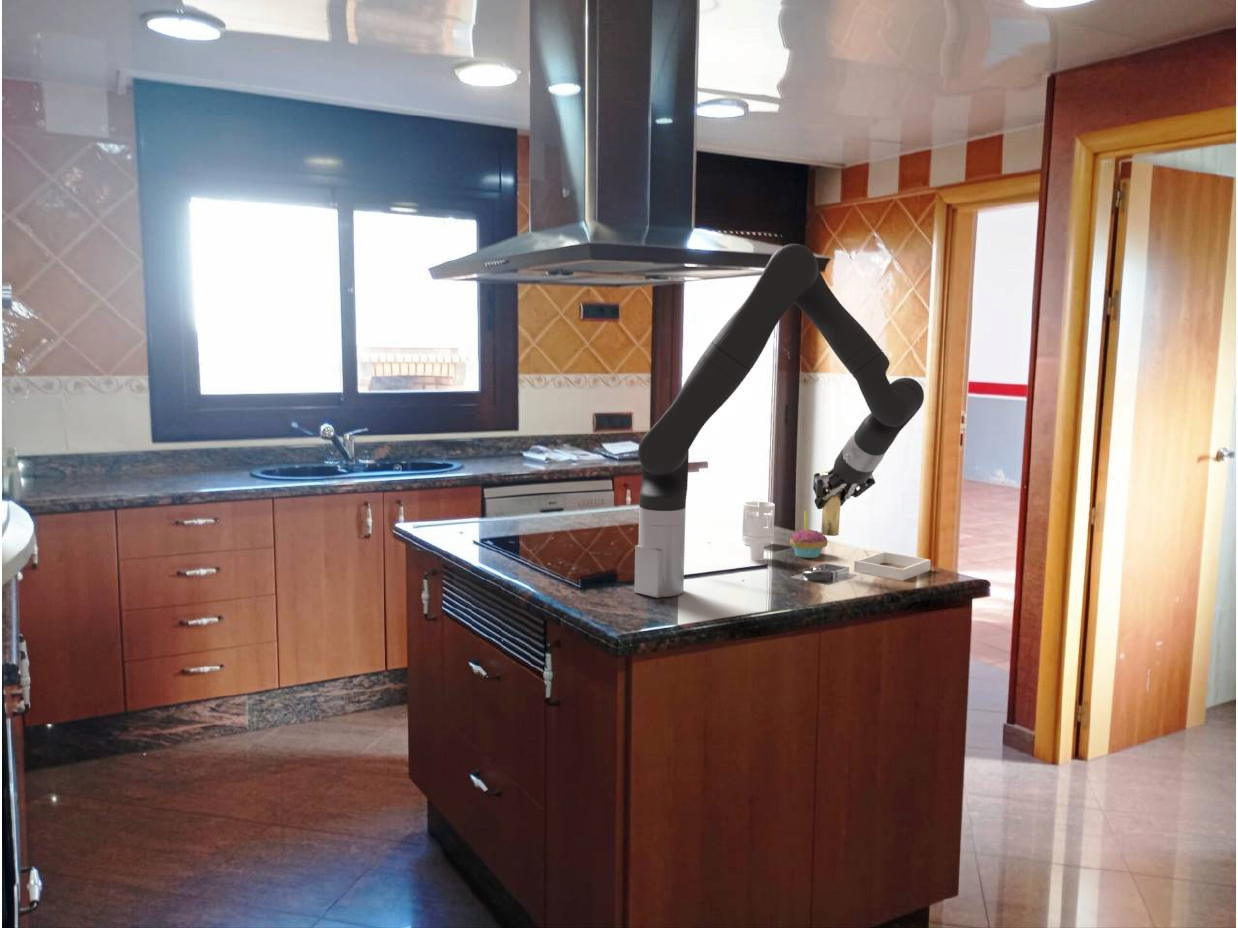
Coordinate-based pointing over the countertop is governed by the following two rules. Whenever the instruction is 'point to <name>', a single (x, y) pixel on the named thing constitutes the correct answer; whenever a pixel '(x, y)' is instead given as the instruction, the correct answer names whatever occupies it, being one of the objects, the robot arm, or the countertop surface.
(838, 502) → the gold mushroom peg
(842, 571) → the tensioner plate
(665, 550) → the robot arm
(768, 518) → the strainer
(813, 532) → the cupcake
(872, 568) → the tray
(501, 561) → the countertop surface
